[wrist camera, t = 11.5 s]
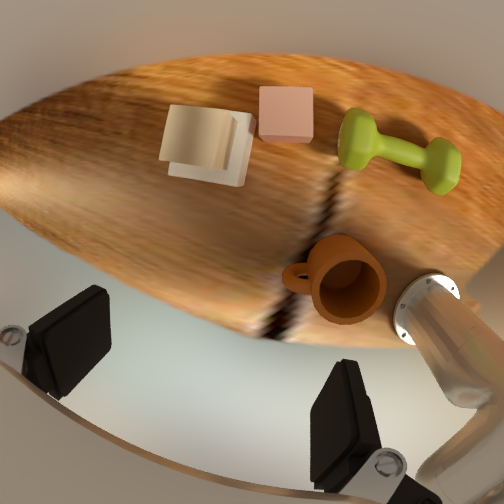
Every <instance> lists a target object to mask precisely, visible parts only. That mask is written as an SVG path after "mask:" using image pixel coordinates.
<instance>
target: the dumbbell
mask: <svg viewBox="0 0 504 504" xmlns="http://www.w3.org/2000/svg"><path fill="white" fill-rule="evenodd" d="M337 152H338V158H339V161H340V163H341V165H342V166H343V167H345V168H348V169H352V170H361V169H363V168H364V167H365V166H366V165H367V163H368V162H369V161H370V159H371V158H372V157H374V156H380V157H382V158H385V159H387V160H390V161H393V162H396V163H399V164H402V165H406V166H410V167H414V168H418V169H420V175H421V179H422V181H423V182H424V184H425V186H426V187H427V189H428V190H429V191H430V192H432V193H434V194H437V195H445V194H446V193H448V192H449V191H450V190H451V189H453V188H454V187H455V186H456V185H457V183H458V181H459V177H460V170H461V154H460V152H459V150H458V149H457V148H456V147H455V146H454V145H453V144H452V143H451V142H450V141H448V140H446V139H444V138H441V137H436V138H434V139H433V140H432V141H431V142H430V143H429V144H428V145H427V147H426V148H421V147H419V146H417V145H415V144H413V143H410V142H408V141H405V140H402V139H399V138H395V137H392V136H386V135H382V134H380V133H379V132H378V131H377V127H376V123H375V121H374V119H373V117H372V116H371V115H370V114H369V113H368V112H366V111H364V110H361V109H358V108H350V109H349V110H348V111H347V112H346V114H345V116H344V118H343V121H342V123H341V127H340V130H339V135H338V144H337Z"/></svg>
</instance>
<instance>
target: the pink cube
mask: <svg viewBox="0 0 504 504" xmlns="http://www.w3.org/2000/svg"><path fill="white" fill-rule="evenodd" d="M259 136H260V137H261V139H262V140H263V141H264V142H286V143H307V144H310V142H311V140H312V138H313V88H308V87H283V86H260V90H259Z"/></svg>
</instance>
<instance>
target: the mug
mask: <svg viewBox="0 0 504 504" xmlns="http://www.w3.org/2000/svg"><path fill="white" fill-rule="evenodd" d="M306 275H308V280H307V279H301V278H298V276H306ZM282 282H283V284H284V285H285V286H286V287H287V288H288V289H289V290H291V291H293V292H295V293H299V294H303V295H311V296H312V300H313V304H314V307H315V308H316V310H317V311H318V313H319V314H320V315H321V316H322V317H324V318H325V319H326V320H328V321H329V322H333V323H336V324H339V325H351V324H354V323H358V322H361V321H363V320H365V319H366V318H368V317H370V316H371V315H372V314H373V313H374V312H375V311H376V310H377V309H378V308H379V307H380V305H381V303H382V301H383V299H384V297H385V294H386V289H387V280H386V274H385V272H384V270H383V268H382V266H381V264H380V263H379V262H378V261H377V260H376V259H375V258H374V257H373V256H372V255H371V254H370V253H369V252H368V251H367V250H366V249H365V248H364V247H363V246H362V245H361V244H360V243H359V242H357V241H356V240H355V239H354V238H352V237H349V236H346V235H331V236H328V237H325V238H324V239H322V240H321V241H319V242H317V243H316V245H315V246H314V247H313V248H312V250H311V251H310V254H309V256H308V259H307V263H297V264H293V265H291V266H289V267H287V268H286V269H285V270H284V271H283V273H282Z"/></svg>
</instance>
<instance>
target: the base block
mask: <svg viewBox="0 0 504 504" xmlns="http://www.w3.org/2000/svg"><path fill="white" fill-rule="evenodd" d="M227 111H228V112H229V113H230V114H231V115H232V116H233V117H234V118H235V119H236V120H237V121H238V124H237V128H236V132H235V137H234V141H233V146H232V150H231V155H230V159H229V164H228V169H227V170H220V169H211V168H206V167H200V166H194V165H188V164H182V163H176V162H170V165H169V171H168V175H170V176H177V177H183V178H189V179H195V180H201V181H207V182H213V183H218V184H224V185H229V186H235V187H240V186H244V182H245V177H246V172H247V167H248V162H249V157H250V152H251V147H252V142H253V137H254V133H255V128H256V123H257V121H256V119H255V118H254V116H253V115H252V114H251V113H245V112H237V111H229V110H227Z"/></svg>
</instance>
